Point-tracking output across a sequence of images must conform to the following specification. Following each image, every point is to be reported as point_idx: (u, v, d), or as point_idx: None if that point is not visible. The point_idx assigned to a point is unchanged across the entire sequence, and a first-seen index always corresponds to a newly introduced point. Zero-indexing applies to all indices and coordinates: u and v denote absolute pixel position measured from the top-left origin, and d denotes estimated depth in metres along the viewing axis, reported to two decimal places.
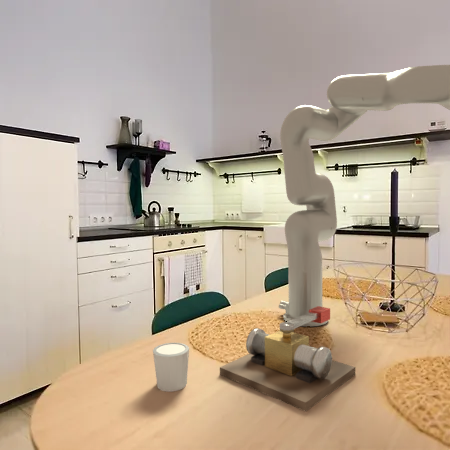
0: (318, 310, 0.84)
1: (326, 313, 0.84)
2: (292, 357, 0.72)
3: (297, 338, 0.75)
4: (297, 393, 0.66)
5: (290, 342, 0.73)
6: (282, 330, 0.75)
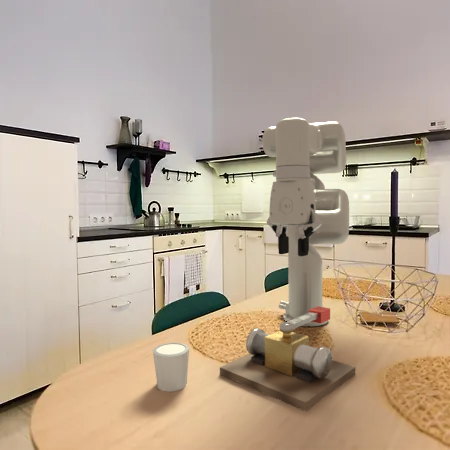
0: (318, 310, 0.84)
1: (326, 313, 0.84)
2: (292, 357, 0.72)
3: (297, 338, 0.75)
4: (297, 393, 0.66)
5: (290, 342, 0.73)
6: (282, 330, 0.75)
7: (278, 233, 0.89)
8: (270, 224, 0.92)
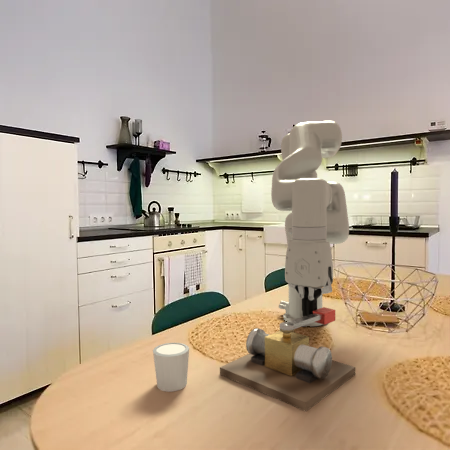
0: (322, 311, 0.83)
1: (331, 314, 0.83)
2: (292, 357, 0.72)
3: (297, 338, 0.75)
4: (297, 393, 0.66)
5: (290, 342, 0.73)
6: (281, 330, 0.75)
7: (301, 294, 0.86)
8: (292, 286, 0.88)
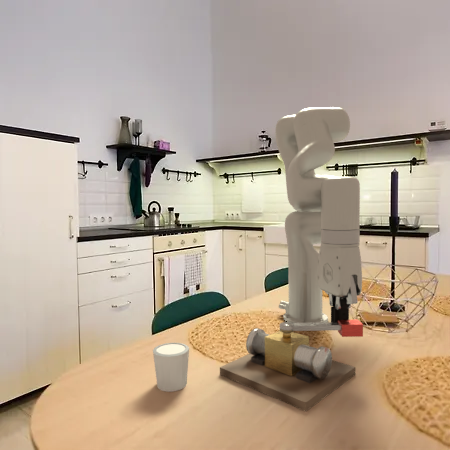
0: (345, 322, 0.75)
1: (354, 328, 0.74)
2: (292, 357, 0.72)
3: (297, 338, 0.75)
4: (297, 393, 0.66)
5: (290, 342, 0.73)
6: None
7: (331, 302, 0.80)
8: (327, 291, 0.83)
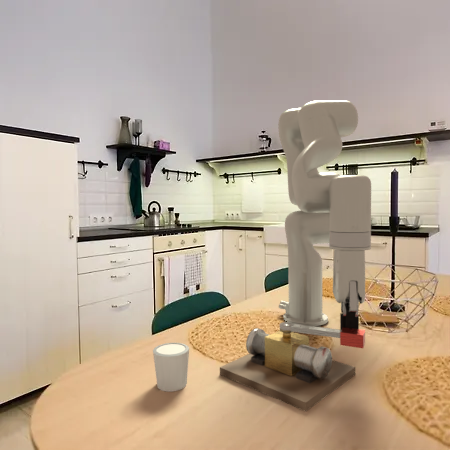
0: (346, 331, 0.71)
1: (353, 338, 0.69)
2: (292, 357, 0.72)
3: (297, 338, 0.75)
4: (297, 393, 0.66)
5: (290, 342, 0.73)
6: None
7: (341, 308, 0.75)
8: None
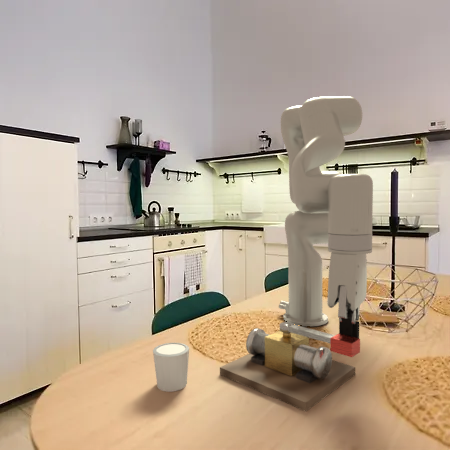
0: (339, 337, 0.68)
1: (342, 345, 0.66)
2: (292, 357, 0.72)
3: (297, 338, 0.75)
4: (297, 393, 0.66)
5: (290, 342, 0.73)
6: None
7: None
8: None
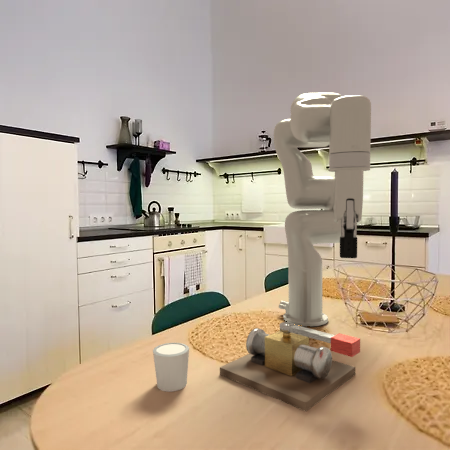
0: (339, 337, 0.68)
1: (343, 345, 0.66)
2: (292, 357, 0.72)
3: (297, 338, 0.75)
4: (297, 393, 0.66)
5: (290, 342, 0.73)
6: None
7: None
8: None
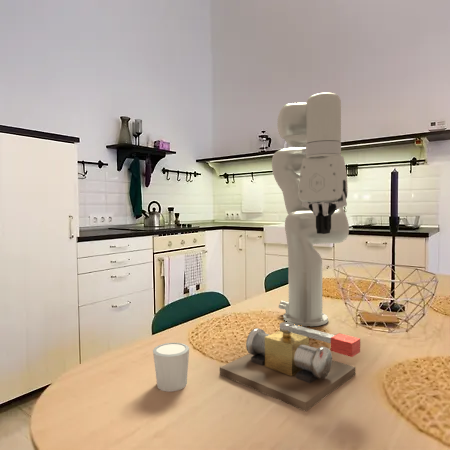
0: (339, 337, 0.68)
1: (343, 345, 0.66)
2: (292, 357, 0.72)
3: (297, 338, 0.75)
4: (297, 393, 0.66)
5: (290, 342, 0.73)
6: None
7: (316, 211, 0.87)
8: (306, 205, 0.89)
